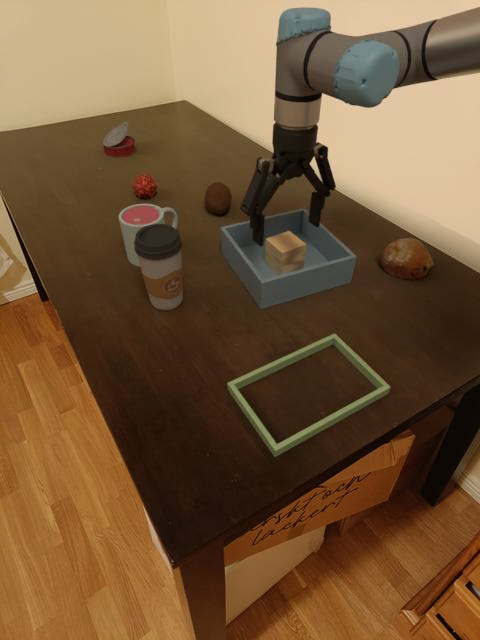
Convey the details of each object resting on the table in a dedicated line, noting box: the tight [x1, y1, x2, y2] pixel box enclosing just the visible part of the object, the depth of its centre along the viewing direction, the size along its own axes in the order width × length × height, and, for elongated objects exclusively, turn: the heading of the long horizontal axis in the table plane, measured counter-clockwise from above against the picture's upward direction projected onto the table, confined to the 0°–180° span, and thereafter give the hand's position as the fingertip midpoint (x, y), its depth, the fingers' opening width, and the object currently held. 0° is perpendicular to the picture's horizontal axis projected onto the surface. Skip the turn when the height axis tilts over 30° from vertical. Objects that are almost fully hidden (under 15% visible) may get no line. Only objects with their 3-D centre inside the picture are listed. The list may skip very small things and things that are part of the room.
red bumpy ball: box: [131, 174, 159, 199], centre depth 113 cm, size 6×7×8 cm
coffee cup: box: [134, 223, 184, 312], centre depth 79 cm, size 8×8×15 cm
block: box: [265, 231, 306, 275], centre depth 89 cm, size 6×6×6 cm
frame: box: [227, 332, 392, 458], centre depth 67 cm, size 22×14×2 cm, turn 120°
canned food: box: [102, 121, 137, 158], centre depth 134 cm, size 11×10×10 cm
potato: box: [204, 181, 233, 215], centre depth 107 cm, size 7×10×7 cm
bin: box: [219, 207, 358, 310], centre depth 90 cm, size 21×21×6 cm
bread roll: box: [379, 237, 435, 281], centre depth 90 cm, size 10×10×8 cm
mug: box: [118, 203, 179, 268], centre depth 93 cm, size 14×9×10 cm
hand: (286, 233), depth 86 cm, fingers open, 13 cm apart
